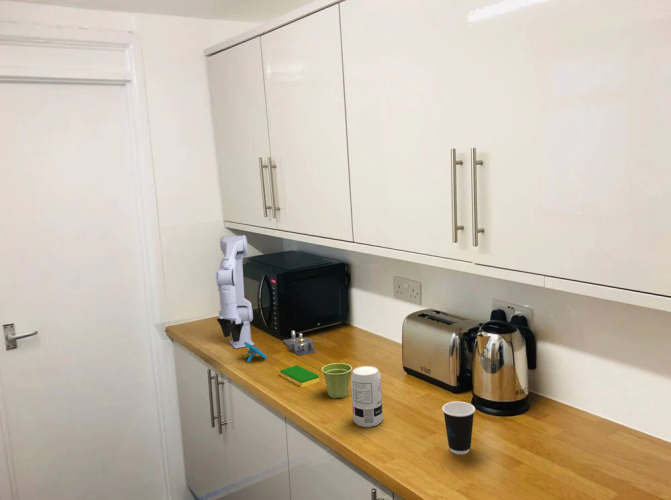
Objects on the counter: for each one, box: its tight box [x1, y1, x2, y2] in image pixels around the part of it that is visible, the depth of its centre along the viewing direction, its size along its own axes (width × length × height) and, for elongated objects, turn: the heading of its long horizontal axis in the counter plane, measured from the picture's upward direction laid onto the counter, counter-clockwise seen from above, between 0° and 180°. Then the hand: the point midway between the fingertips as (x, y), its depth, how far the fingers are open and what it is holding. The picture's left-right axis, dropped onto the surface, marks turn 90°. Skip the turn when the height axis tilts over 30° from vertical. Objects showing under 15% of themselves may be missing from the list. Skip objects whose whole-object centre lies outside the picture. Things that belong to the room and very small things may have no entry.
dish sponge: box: [279, 364, 320, 388], centre depth 199 cm, size 7×14×2 cm, turn 36°
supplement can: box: [350, 365, 384, 428], centre depth 163 cm, size 8×8×15 cm
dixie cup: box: [442, 401, 476, 456], centre depth 146 cm, size 8×8×11 cm
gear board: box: [282, 330, 317, 356], centre depth 230 cm, size 18×9×6 cm, turn 23°
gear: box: [244, 342, 268, 363], centre depth 218 cm, size 11×6×10 cm
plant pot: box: [321, 362, 353, 399], centre depth 183 cm, size 9×9×9 cm
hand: (231, 338), depth 213 cm, fingers open, 7 cm apart
